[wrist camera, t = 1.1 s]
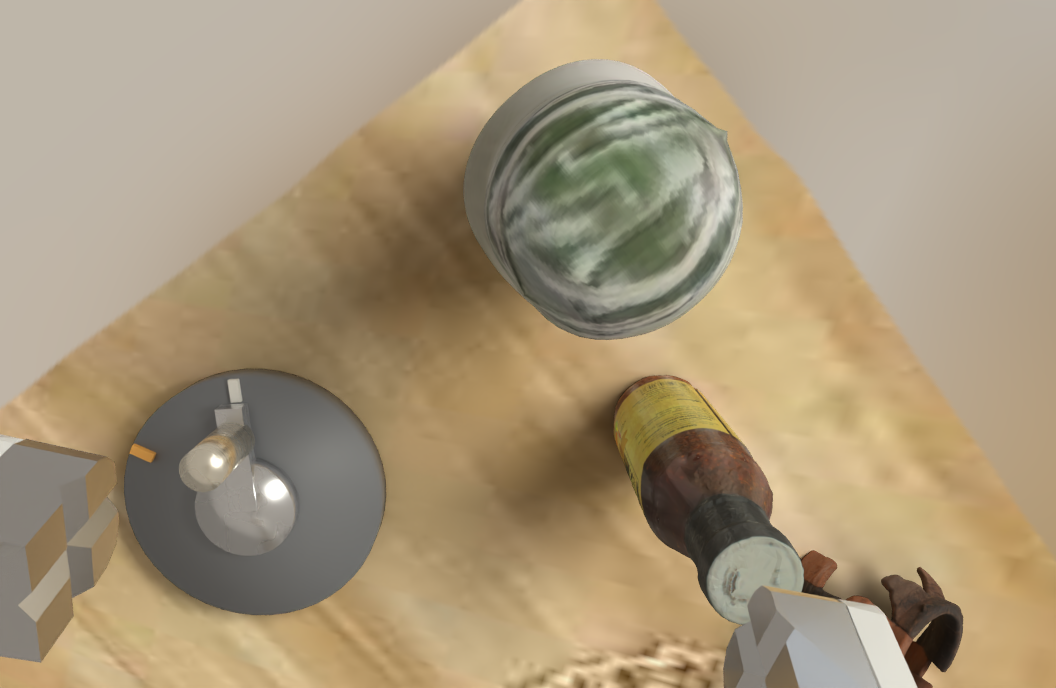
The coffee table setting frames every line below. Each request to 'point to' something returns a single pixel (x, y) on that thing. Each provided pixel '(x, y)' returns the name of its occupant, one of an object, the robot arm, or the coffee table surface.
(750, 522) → the sauce bottle
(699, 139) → the grey bottle
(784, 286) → the coffee table surface
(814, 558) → the pottery mug
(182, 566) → the dial plate
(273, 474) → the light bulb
